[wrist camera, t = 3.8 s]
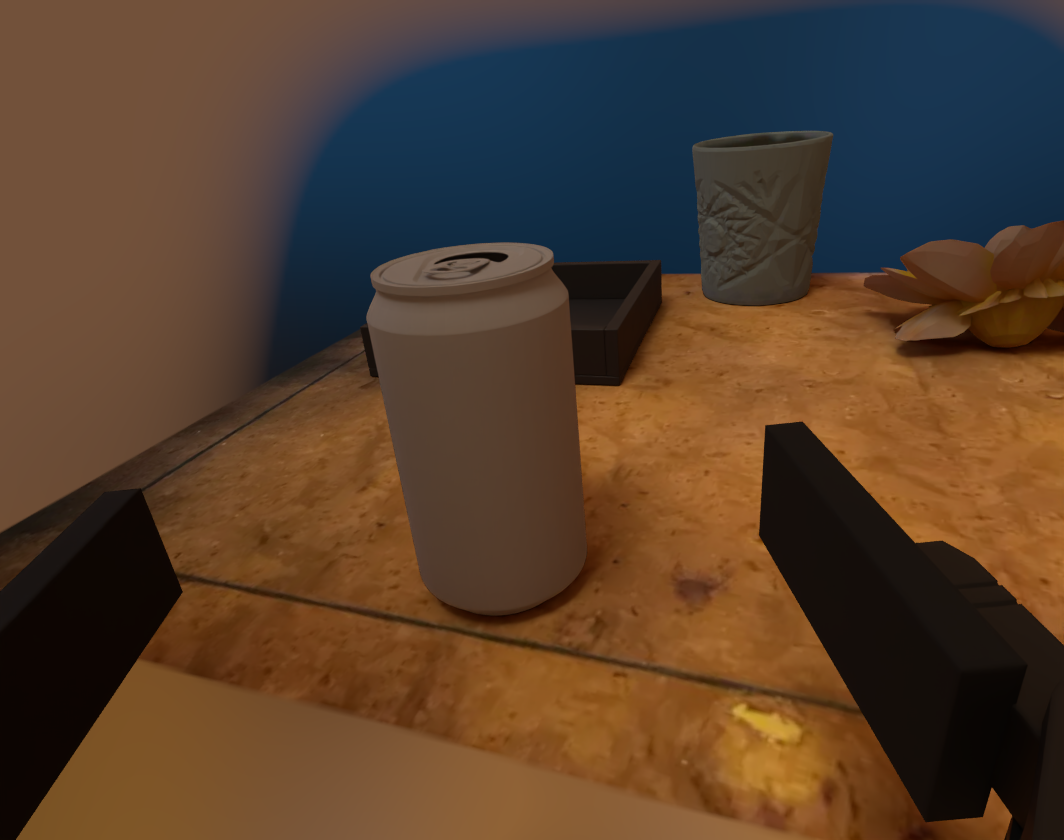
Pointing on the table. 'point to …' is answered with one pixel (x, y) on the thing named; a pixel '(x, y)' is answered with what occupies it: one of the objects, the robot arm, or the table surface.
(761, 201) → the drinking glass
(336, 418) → the table surface
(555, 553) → the beverage can
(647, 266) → the tray
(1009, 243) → the decorative flower
